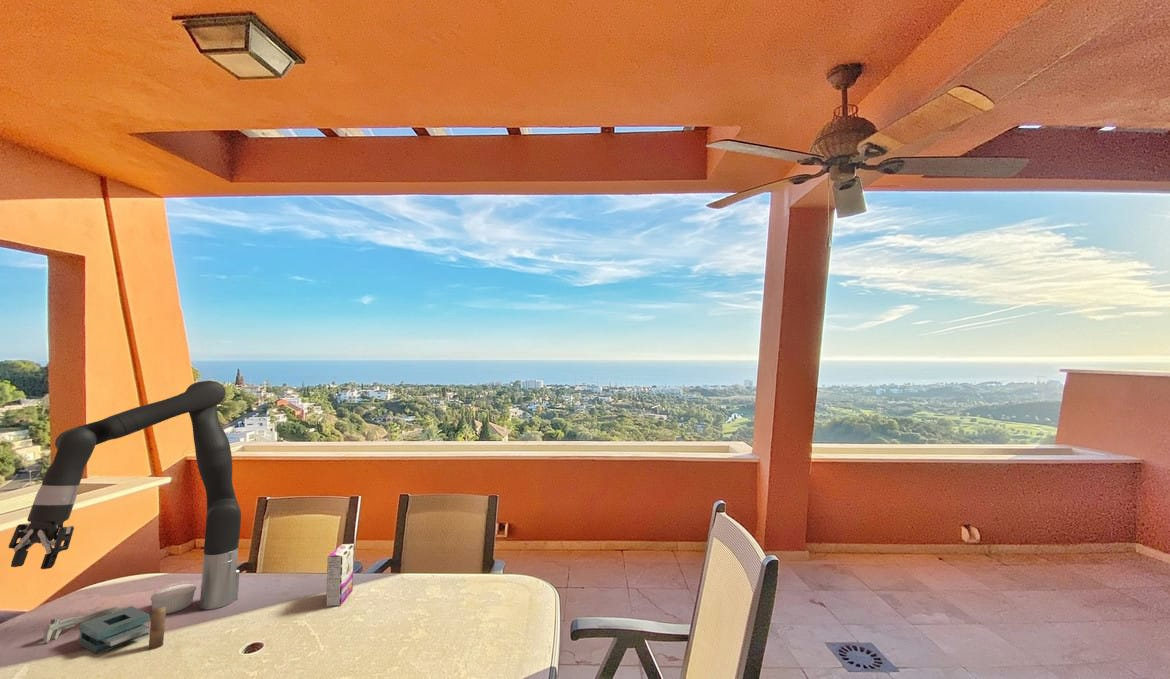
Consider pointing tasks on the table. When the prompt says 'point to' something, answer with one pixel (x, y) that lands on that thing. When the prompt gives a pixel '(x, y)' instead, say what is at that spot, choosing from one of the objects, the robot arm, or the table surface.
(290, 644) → the table surface
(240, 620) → the table surface
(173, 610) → the ramekin
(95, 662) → the table surface
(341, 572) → the candy bar box
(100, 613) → the caliper
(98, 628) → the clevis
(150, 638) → the pin
